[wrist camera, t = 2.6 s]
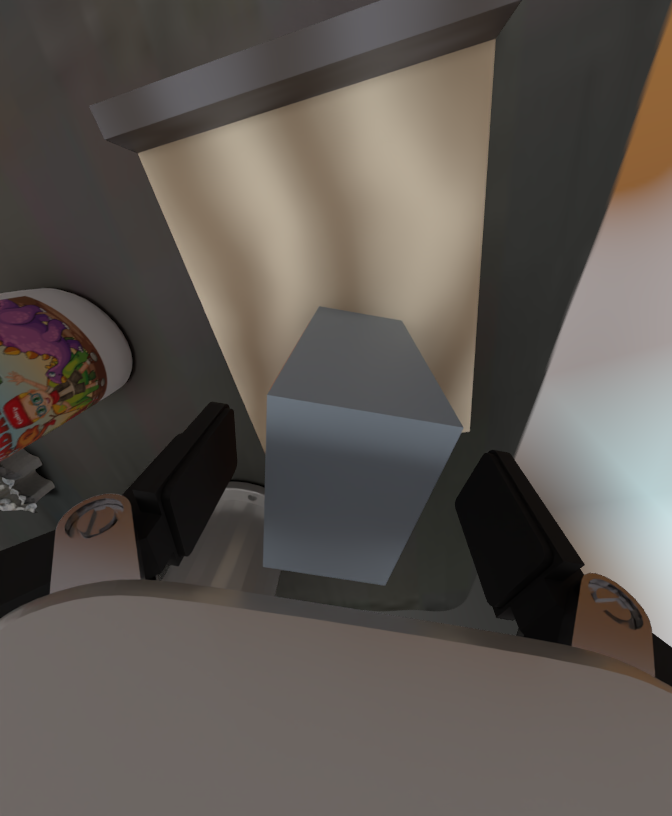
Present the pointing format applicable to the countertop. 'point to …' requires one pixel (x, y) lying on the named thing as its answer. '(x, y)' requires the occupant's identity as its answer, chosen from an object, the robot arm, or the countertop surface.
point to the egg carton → (21, 482)
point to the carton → (351, 447)
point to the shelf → (330, 182)
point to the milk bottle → (54, 362)
